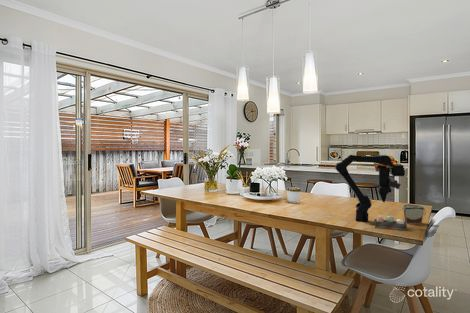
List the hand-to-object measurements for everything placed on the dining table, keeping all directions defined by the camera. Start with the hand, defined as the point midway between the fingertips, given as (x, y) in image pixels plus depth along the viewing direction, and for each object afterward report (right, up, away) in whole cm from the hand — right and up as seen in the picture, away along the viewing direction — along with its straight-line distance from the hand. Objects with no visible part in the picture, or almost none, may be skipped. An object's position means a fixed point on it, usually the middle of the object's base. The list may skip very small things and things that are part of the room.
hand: (383, 201), depth 167 cm
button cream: (+2, -11, -13) cm, 17 cm away
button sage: (-2, -10, -11) cm, 15 cm away
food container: (+16, -12, 0) cm, 20 cm away
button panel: (-2, -12, -11) cm, 16 cm away
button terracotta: (-7, -11, -9) cm, 16 cm away
